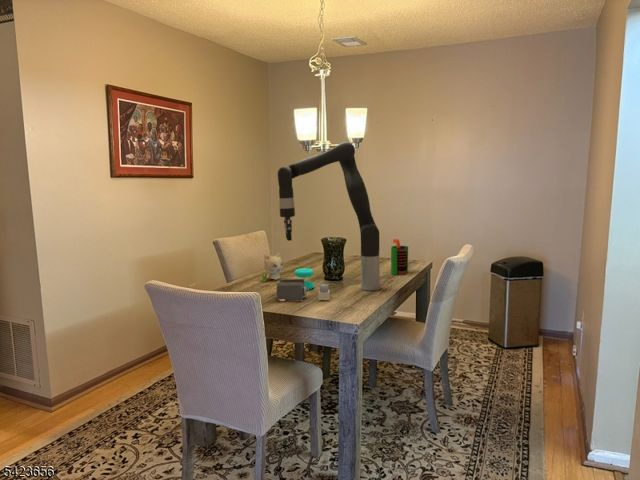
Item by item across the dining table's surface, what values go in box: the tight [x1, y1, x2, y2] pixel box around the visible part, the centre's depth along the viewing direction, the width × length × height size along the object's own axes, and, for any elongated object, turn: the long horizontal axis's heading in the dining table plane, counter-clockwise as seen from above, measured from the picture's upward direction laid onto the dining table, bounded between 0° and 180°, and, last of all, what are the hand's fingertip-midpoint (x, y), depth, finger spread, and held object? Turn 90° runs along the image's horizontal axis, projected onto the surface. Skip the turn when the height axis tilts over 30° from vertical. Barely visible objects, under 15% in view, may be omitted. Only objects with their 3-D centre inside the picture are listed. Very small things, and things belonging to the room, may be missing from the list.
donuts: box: [293, 267, 315, 291], centre depth 239 cm, size 10×10×10 cm
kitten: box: [261, 252, 285, 281], centre depth 261 cm, size 15×10×15 cm, turn 129°
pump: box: [317, 283, 331, 301], centre depth 218 cm, size 5×5×7 cm
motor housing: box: [276, 278, 308, 300], centre depth 221 cm, size 13×10×8 cm
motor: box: [390, 238, 409, 276], centre depth 267 cm, size 10×9×20 cm
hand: (288, 239), depth 232 cm, fingers open, 8 cm apart
